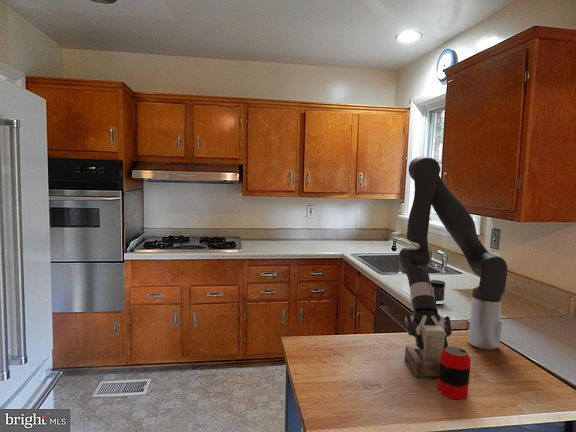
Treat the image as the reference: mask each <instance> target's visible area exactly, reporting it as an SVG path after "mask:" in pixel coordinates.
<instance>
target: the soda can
mask: <svg viewBox="0 0 576 432" xmlns="http://www.w3.org/2000/svg"><path fill="white" fill-rule="evenodd" d="M471 360H472V359H471V357H470V355H469V353H468V352H467V351H466V350H465V349H464V348H461V347H458V346H451V345H450V346H449V345H448V347H446V348H445V349H444V350H442V351H441V355H440V368H439V379H438V382H437V383H438V384H437V390H438V391H439V393H440V394H441V395H442V396H444V397H445V398H447V399H451V400H456V401H458V400H459V401H461V400H465V399H466V398H468V396H469V395H468V394H469V383H470V374H471V372H470V371H471Z"/></svg>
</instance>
